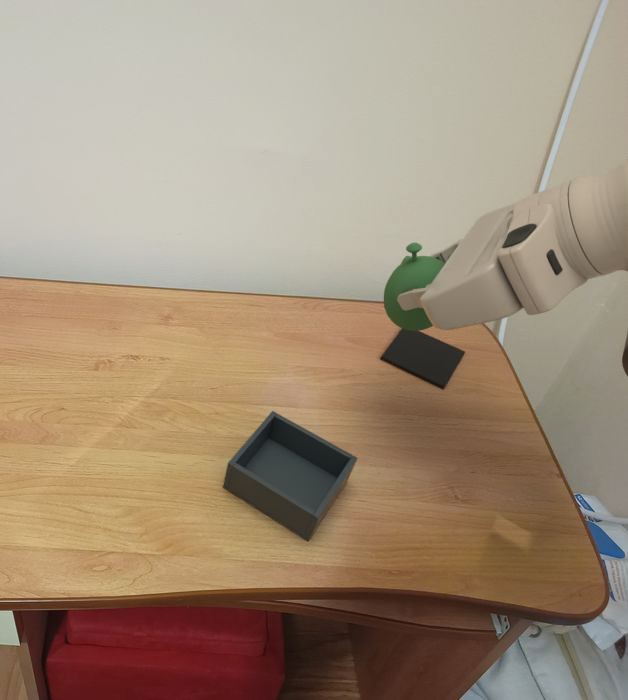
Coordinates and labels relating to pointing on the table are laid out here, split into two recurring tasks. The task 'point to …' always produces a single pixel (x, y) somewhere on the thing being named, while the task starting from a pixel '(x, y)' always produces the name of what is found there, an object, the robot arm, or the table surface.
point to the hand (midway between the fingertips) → (415, 282)
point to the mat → (423, 356)
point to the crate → (289, 474)
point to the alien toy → (404, 277)
